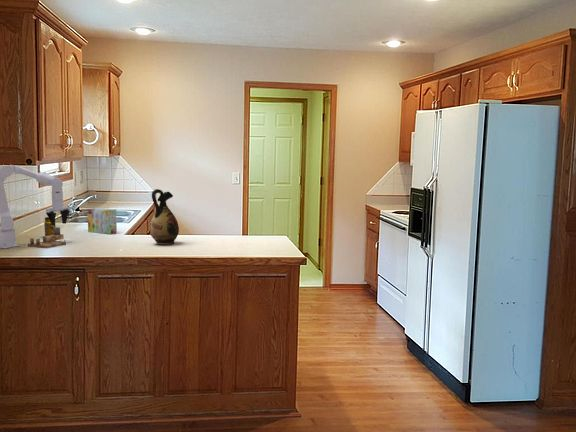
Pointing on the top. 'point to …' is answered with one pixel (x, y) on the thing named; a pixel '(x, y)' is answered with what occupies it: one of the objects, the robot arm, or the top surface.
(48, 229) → the condiment
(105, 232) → the snack box
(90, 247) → the top surface
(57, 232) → the foot cap
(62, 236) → the oak leg
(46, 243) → the wooden tray
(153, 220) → the ceramic jug
